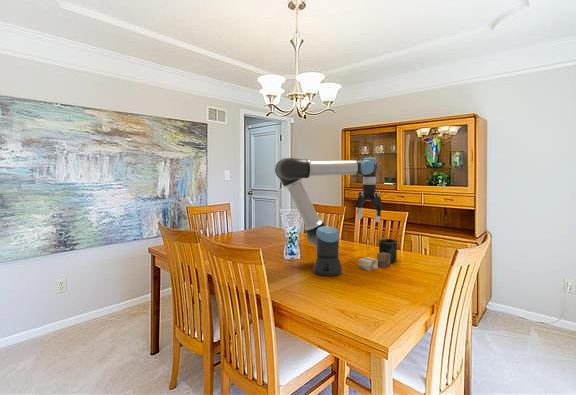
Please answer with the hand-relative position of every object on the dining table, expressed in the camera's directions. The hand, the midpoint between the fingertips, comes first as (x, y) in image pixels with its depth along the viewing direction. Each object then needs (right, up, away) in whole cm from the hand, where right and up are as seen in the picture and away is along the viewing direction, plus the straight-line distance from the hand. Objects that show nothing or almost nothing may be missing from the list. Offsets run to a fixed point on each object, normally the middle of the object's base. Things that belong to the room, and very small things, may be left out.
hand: (368, 220), depth 190 cm
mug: (+13, -24, +4) cm, 28 cm away
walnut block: (+6, -25, -8) cm, 27 cm away
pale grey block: (-3, -26, -12) cm, 28 cm away
